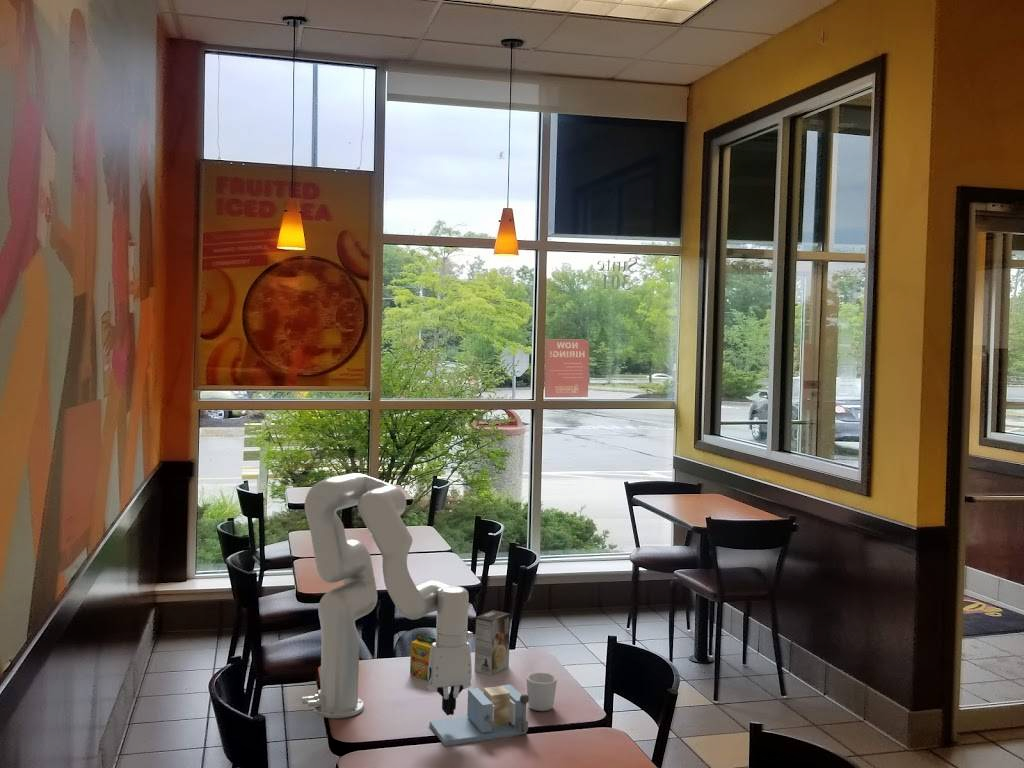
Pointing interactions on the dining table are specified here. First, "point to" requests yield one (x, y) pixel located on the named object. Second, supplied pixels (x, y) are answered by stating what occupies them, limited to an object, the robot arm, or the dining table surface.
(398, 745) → the dining table surface
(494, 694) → the maple block
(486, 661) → the coffee box
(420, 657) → the crayon box
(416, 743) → the dining table surface
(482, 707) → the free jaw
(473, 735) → the vise bed
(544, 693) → the cup
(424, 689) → the dining table surface
